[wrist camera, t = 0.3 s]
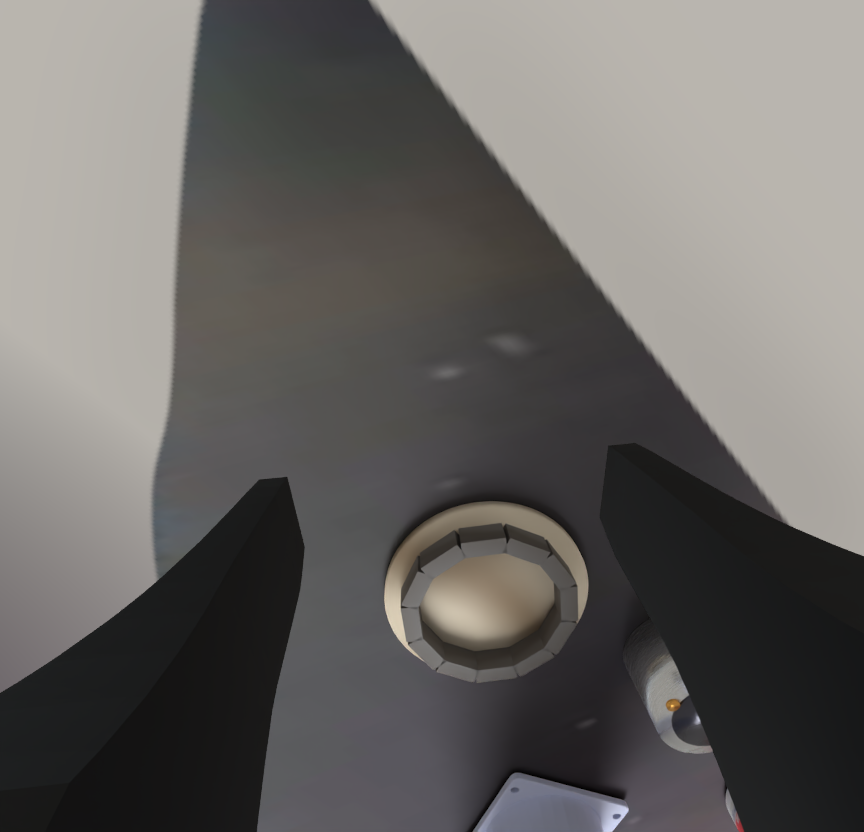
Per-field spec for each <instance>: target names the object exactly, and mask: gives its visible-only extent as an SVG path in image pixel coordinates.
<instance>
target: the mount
mask: <svg viewBox="0 0 864 832" xmlns="http://www.w3.org/2000/svg"><path fill="white" fill-rule="evenodd" d="M588 585H589V584H588V574H587V570H586V566H585V562H584V560H583V558H582V556H581V553H580V551H579V550H578V548H577V546H576V544H575V543H574V541H573V540H572V538H571V537H570V535H569V534H568V533H567V532H566V531H565V530H564V529H563V527H561V526H560V525H559V524H558V523H557V522H555V521H554V520H553V519H551V518H550V517H548V516H546V515H545V514H543V513H541V512H539V511H537V510H535V509H532V508H530V507H526V506H523V505H520V504H515V503H509V502H500V501H484V502H474V503H468V504H463V505H460V506H456V507H453V508H450V509H447V510H445V511H443V512H441V513H438V514H436V515H434V516H433V517H431V518H429V519H428V520H426V521H424V522H423V523H422V524H421V525H419V526H418V527H417V528H415V529H414V530H413V531H412V532H411V533H410V534H409V535H408V536H407V537H406V538H405V539H404V541H403V542H402V543H401V545H400V546H399V547H398V549H397V550H396V552H395V554H394V556H393V558H392V560H391V562H390V565H389V568H388V571H387V576H386V581H385V597H384V600H385V610H386V614H387V617H388V621H389V623H390V625H391V627H392V630H393V631H394V633H395V634H396V636H397V637H398V639H399V640H400V641H401V643H402V644H403V645H404V646H405V647H406V648H407V649H408V650H409V651H411V652H412V653H413V654H414V655H415V656H417V657H418V658H420V659H421V660H423V661H424V662H425V663H426V664H427V665H428V666H429V667H431V668H432V669H433V670H434V669H436V672H438V673H442V674H445V675H449V676H452V677H455V678H459V679H462V680H466V681H469V682H472V683H473V682H474V681H475V679H477V683H481V682H489V681H497V680H505V679H513V678H517V673H518V674H519V675H520V676H523V675H525V674H526V673H528V672H530V671H532V670H533V669H535V668H537V667H539V666H540V665H542V664H544V663H545V662H547V661H549V660H551V659H552V658H554V657H555V656H554V654H558V653H559V652H560V650H561V648H562V647H563V645H564V644H565V642H566V641H567V639H568V638H569V636H570V635H571V633H572V631H573V630H574V628H575V627H576V625H577V623H578V622H579V620H580V618H581V616H582V614H583V611H584V608H585V606H586V601H587V597H588Z"/></svg>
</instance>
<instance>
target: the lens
mask: <svg viewBox="0 0 864 832" xmlns="http://www.w3.org/2000/svg"><path fill="white" fill-rule="evenodd" d="M623 661H624V664H625V667H626V669H627V671H628V673H629V675H630V677H631V679H632V681H633V683H634V685H635V687H636V689H637V691H638V693H639V695H640V697H641V699H642V701H643V703H644V705H645V707H646V709H647V711H648V713H649V715H650V717H651V720H652V722H653V724H654V726H655V728H656V730H657V732H658V734H659V736H660V737H661V739H662V740H663V741H664V742H665V743H666V744H667V745H669V746H670V747H672V748H674V749H676V750H679V751H682V752H686V753H708V752H713V750H712V748H711V746H710V743H709V741H708V738H707V736H706V734H705V731H704V729H703V726H702V724H701V722H700V719H699V717H698V714H697V712H696V710H695V707H694V705H693V703H692V701H691V698H690V696H689V694H688V692H687V689H686V687H685V685H684V683H683V680H682V678H681V676H680V674H679V671H678V669H677V667H676V665H675V663H674V661H673V659H672V657H671V655H670V653H669V651H668V649H667V647H666V645H665V643H664V641H663V640H662V638H661V636H660V634H659V633H658V631H657V629H656V627H655V626H654V624H653V622H652V620H651V619H649V620H647V621H645V622H644V623H642V624H641V625H640V626H638V627H637V628H636V629H635V630H634V631H633V632H632V633H631V635H630V636H629V638H628V639H627V641H626V643H625V646H624V650H623Z"/></svg>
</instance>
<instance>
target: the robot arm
mask: <svg viewBox="0 0 864 832" xmlns="http://www.w3.org/2000/svg"><path fill="white" fill-rule="evenodd" d="M600 519H601V521H602V524H603V527H604V529H605V532H606V535H607V537H608V540H609V542H610V545H611V547H612V549H613V552H614V554H615V556H616V558H617V560H618V562H619V564H620V566H621V567H622V569H623V571H624V573H625V575H626V576H627V578H628V580H629V582H630V583H631V585H632V587H633V589H634V591H635V592H636V594H637V596H638V598H639V599H640V601H641V603H642V605H643V606H644V608H645V610H646V612H647V613H648V615H649V617H650V619H651V620H652V622H653V624H654V626H655V627H656V629H657V631H658V633H659V634H660V636H661V638H662V640H663V641H664V643H665V645H666V647H667V649H668V651H669V653H670V655H671V657H672V659H673V661H674V663H675V665H676V667H677V669H678V671H679V674H680V676H681V678H682V680H683V683H684V685H685V687H686V689H687V692H688V694H689V696H690V698H691V701H692V703H693V705H694V707H695V710H696V712H697V714H698V717H699V719H700V722H701V724H702V726H703V729H704V731H705V734H706V736H707V738H708V741H709V743H710V746H711V748H712V750H713V753H714V755H715V758H716V760H717V762H718V765H719V768H720V770H721V773H722V775H723V778H724V781H725V783H726V786H727V788H728V791H729V793H730V796H731V799H732V801H733V804H734V806H735V809H736V811H737V814H738V817H739V819H740V822H741V824H742V827H743V830H744V832H864V556H861V555H859V554H856V553H853V552H851V551H848V550H846V549H843V548H840V547H838V546H836V545H833V544H830V543H828V542H826V541H823V540H821V539H819V538H816V537H814V536H812V535H809V534H807V533H805V532H802V531H800V530H798V529H795V528H793V527H791V526H789V525H787V524H784V523H782V522H780V521H778V520H776V519H774V518H772V517H770V516H768V515H766V514H764V513H762V512H760V511H758V510H756V509H754V508H752V507H750V506H748V505H746V504H744V503H742V502H740V501H738V500H736V499H734V498H732V497H730V496H729V495H727V494H725V493H723V492H721V491H719V490H718V489H716V488H714V487H712V486H710V485H709V484H707V483H705V482H703V481H702V480H700V479H698V478H696V477H695V476H693V475H691V474H689V473H688V472H686V471H684V470H682V469H681V468H679V467H677V466H676V465H674V464H672V463H670V462H669V461H667V460H665V459H664V458H662V457H660V456H658V455H657V454H655V453H653V452H651V451H649V450H648V449H646V448H644V447H642V446H640V445H638V444H636V443H632V444H622V445H611V446H608V453H607V462H606V470H605V478H604V486H603V494H602V502H601V511H600ZM304 548H305V547H304V543H303V539H302V535H301V531H300V527H299V523H298V519H297V514H296V510H295V506H294V502H293V498H292V494H291V490H290V486H289V482H288V478H287V477H282V478H272V479H262V480H259V481H258V482H257V483H256V484H255V485H254V486H253V487H252V488H251V489H250V490H249V491H248V492H247V493H246V494H245V495H244V496H243V497H242V498H241V499H240V500H239V501H238V503H237V504H236V505H235V506H234V507H233V508H232V509H231V510H230V511H229V512H228V513H227V514H226V515H225V516H224V517H223V518H222V519H221V520H220V521H219V523H218V524H217V525H216V526H215V527H214V528H213V529H212V530H211V531H210V532H209V533H208V534H207V535H206V536H205V537H204V538H203V539H202V540H201V541H200V542H199V543H198V544H197V545H196V546H195V547H194V548H193V549H191V550H190V551H189V552H188V553H187V554H186V555H185V556H184V557H183V558H182V559H181V560H180V561H179V562H178V563H177V564H176V565H174V566H173V567H172V568H171V569H170V570H169V571H168V572H167V573H166V574H165V575H164V576H163V577H161V578H160V579H159V580H158V581H157V582H156V583H155V584H153V585H152V586H151V587H150V588H149V589H147V590H146V591H145V592H144V593H143V594H142V595H141V596H139V597H138V598H137V599H135V600H134V601H133V602H132V603H130V604H129V605H128V606H127V607H125V608H124V609H123V610H121V611H120V612H119V613H118V614H116V615H115V616H114V617H112V618H111V619H110V620H109V621H107V622H106V623H104V624H103V625H102V626H100V627H99V628H97V629H96V630H94V631H93V632H92V633H90V634H89V635H87V636H86V637H85V638H83V639H82V640H80V641H79V642H78V643H76V644H75V645H73V646H72V647H70V648H69V649H68V650H66V651H65V652H63V653H62V654H61V655H59V656H58V657H56V658H55V659H53V660H52V661H50V662H49V663H47V664H46V665H44V666H43V667H41V668H39V669H38V670H36V671H35V672H33V673H32V674H30V675H29V676H27V677H25V678H24V679H22V680H21V681H19V682H18V683H16V684H14V685H13V686H11V687H9V688H8V689H6V690H5V691H3V692H1V693H0V832H257V824H258V815H259V807H260V798H261V790H262V782H263V774H264V766H265V758H266V751H267V744H268V737H269V730H270V722H271V715H272V709H273V704H274V699H275V693H276V688H277V684H278V680H279V676H280V672H281V667H282V663H283V659H284V655H285V651H286V647H287V643H288V639H289V634H290V630H291V626H292V622H293V618H294V613H295V609H296V605H297V601H298V596H299V592H300V586H301V578H302V569H303V559H304ZM628 810H629V809H628V806H627V803H626V802H625V801H624V800H621V799H618V798H614V797H610V796H606V795H603V794H599V793H595V792H591V791H587V790H584V789H580V788H576V787H572V786H568V785H565V784H561V783H557V782H553V781H549V780H546V779H542V778H538V777H534V776H531V775H527V774H523V773H514V774H512V775H511V776H510V777H509V778H508V780H507V781H506V783H505V784H504V786H503V787H502V789H501V790H500V792H499V793H498V795H497V796H496V798H495V799H494V801H493V802H492V804H491V805H490V807H489V808H488V810H487V811H486V812H485V814H484V815H483V817H482V818H481V820H480V821H479V823H478V824H477V826H476V827H475V829H474V830H473V832H612V831H613V830H614V829H615V827H616V826H617V825H618V824H619V822H620V821H621V820H622V819H623V817H624V816H625V815H626V814H627V812H628Z"/></svg>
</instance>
